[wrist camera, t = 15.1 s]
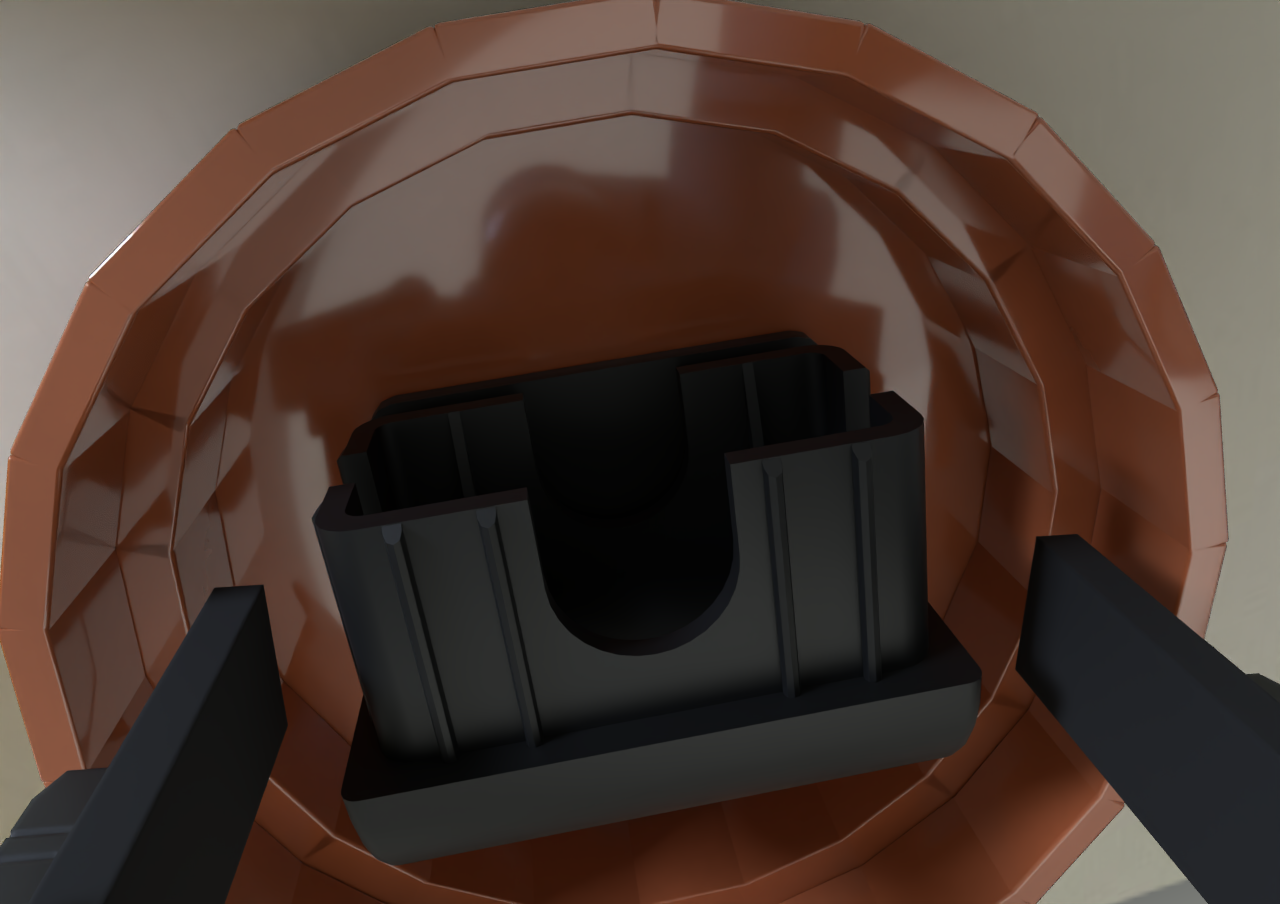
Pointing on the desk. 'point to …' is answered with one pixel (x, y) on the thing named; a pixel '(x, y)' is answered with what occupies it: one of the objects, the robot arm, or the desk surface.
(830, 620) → the end cap
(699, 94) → the ceramic bowl
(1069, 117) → the desk surface
